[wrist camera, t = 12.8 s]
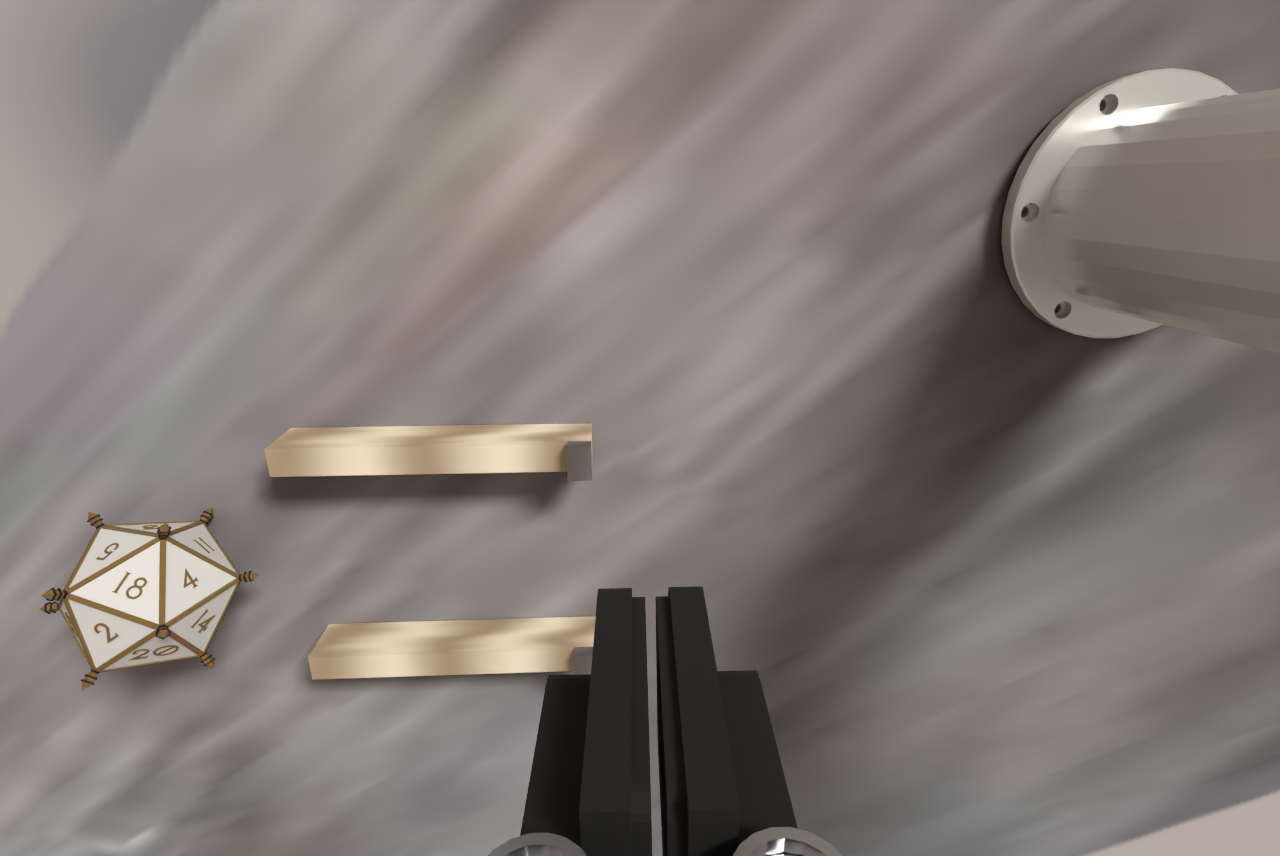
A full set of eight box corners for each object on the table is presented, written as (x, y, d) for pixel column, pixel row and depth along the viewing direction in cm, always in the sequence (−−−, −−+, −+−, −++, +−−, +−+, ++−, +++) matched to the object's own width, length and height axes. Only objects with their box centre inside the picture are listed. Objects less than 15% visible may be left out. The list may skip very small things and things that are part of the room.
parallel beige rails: (592, 420, 36) (590, 446, 32) (597, 638, 41) (596, 682, 37) (290, 425, 35) (255, 452, 32) (333, 646, 40) (306, 691, 36)
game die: (259, 506, 41) (303, 570, 33) (196, 634, 40) (227, 728, 33) (81, 461, 35) (88, 527, 27) (4, 612, 34) (-10, 721, 27)
